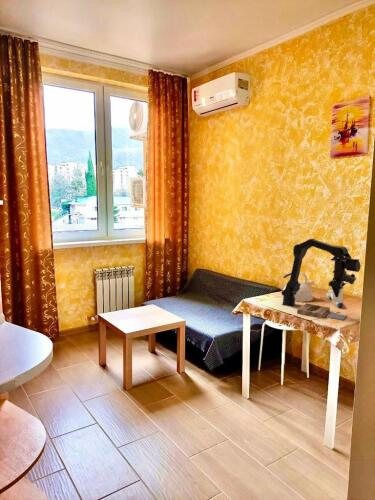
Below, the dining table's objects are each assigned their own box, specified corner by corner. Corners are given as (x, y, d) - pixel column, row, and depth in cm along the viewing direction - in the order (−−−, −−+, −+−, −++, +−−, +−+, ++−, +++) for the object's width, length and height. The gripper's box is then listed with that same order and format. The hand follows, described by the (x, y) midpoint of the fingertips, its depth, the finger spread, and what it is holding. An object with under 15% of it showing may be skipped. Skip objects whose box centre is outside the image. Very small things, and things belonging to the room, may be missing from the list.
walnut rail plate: (297, 313, 209) (297, 309, 209) (306, 307, 222) (306, 303, 221) (321, 318, 201) (321, 314, 200) (329, 311, 213) (329, 307, 213)
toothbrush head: (336, 302, 220) (326, 287, 244) (335, 312, 222) (325, 296, 246) (345, 302, 220) (334, 287, 244) (343, 312, 222) (333, 296, 246)
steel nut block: (332, 301, 202) (333, 287, 201) (334, 300, 205) (335, 286, 204) (340, 303, 199) (341, 289, 198) (342, 301, 203) (343, 287, 202)
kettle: (316, 302, 233) (317, 275, 230) (283, 300, 236) (284, 274, 234) (310, 294, 253) (312, 269, 250) (280, 293, 256) (281, 268, 253)
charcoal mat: (326, 317, 203) (326, 316, 203) (330, 313, 210) (330, 312, 210) (342, 320, 197) (342, 319, 197) (346, 316, 205) (346, 315, 204)
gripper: (351, 273, 188) (349, 302, 190) (358, 268, 203) (356, 295, 205) (329, 271, 194) (327, 298, 196) (338, 266, 209) (336, 292, 211)
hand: (337, 296), depth 202 cm, fingers closed on steel nut block, 4 cm apart
